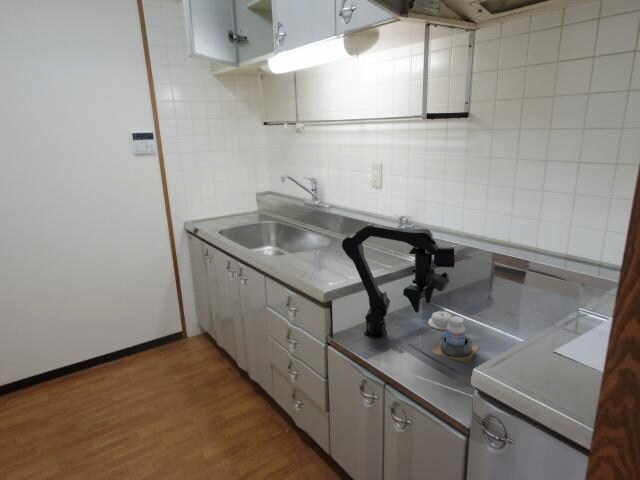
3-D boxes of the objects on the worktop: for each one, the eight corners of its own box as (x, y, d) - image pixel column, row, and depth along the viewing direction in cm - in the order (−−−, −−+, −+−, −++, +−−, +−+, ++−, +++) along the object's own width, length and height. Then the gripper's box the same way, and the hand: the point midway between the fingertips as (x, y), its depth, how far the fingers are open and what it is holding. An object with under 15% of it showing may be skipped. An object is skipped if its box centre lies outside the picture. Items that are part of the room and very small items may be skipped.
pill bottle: (447, 354, 133) (449, 323, 130) (443, 345, 139) (444, 315, 136) (466, 354, 133) (468, 323, 130) (461, 344, 139) (463, 315, 136)
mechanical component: (459, 323, 155) (434, 317, 161) (459, 313, 154) (435, 307, 160) (449, 334, 148) (424, 327, 154) (449, 323, 147) (424, 316, 153)
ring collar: (435, 351, 135) (435, 342, 134) (447, 339, 143) (447, 330, 142) (465, 360, 129) (465, 351, 128) (475, 347, 137) (475, 338, 136)
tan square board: (431, 353, 135) (431, 352, 135) (445, 338, 144) (445, 337, 144) (467, 364, 128) (467, 363, 128) (479, 348, 137) (479, 347, 137)
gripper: (434, 278, 126) (433, 323, 130) (456, 262, 140) (454, 303, 144) (402, 272, 133) (402, 315, 137) (426, 257, 147) (425, 296, 151)
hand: (422, 307), depth 142 cm, fingers open, 9 cm apart
